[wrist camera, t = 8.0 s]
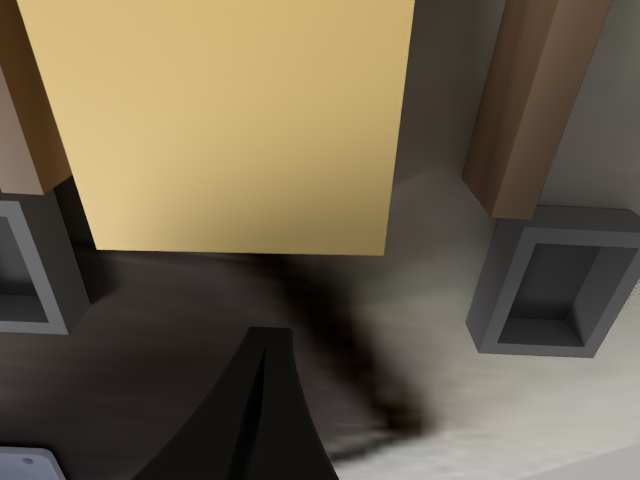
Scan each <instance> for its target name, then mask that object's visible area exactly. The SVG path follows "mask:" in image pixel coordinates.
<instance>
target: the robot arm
mask: <svg viewBox="0 0 640 480" xmlns="http://www.w3.org/2000/svg"><path fill="white" fill-rule="evenodd" d="M292 336H293V331H292V330H291V329H289V328H269V327H250V328H249V329H248V330H247V332H246V334H245V336H244V338H243V340H242V342H241V344H240V346H239V347H238V349H237V351H236V353H235V354H234V356H233V358H232V359H231V361H230V363H229V364H228V366H227V367H226V369H225V370H224V372H223V374H222V375H221V377H220V378H219V380H218V381H217V383H216V384H215V385H214V387H213V388H212V389H211V391H210V392H209V394H208V395H207V396H206V398H205V399H204V400H203V402H202V403H201V404H200V406H199V407H198V408H197V410H196V411H195V412H194V413H193V415H192V416H191V417H190V418H189V419H188V421H187V422H186V423H185V424H184V425H183V426H182V428H181V429H180V430H179V431H178V432H177V433H176V434H175V435H174V437H173V438H172V439H171V440H170V441H169V442H168V443H167V444H166V445H165V446H164V447H163V448H162V450H161V451H160V452H159V453H158V454H157V455H156V456H155V457H154V458H153V459H152V460H151V461H150V462H149V463H148V464H147V465H146V466H145V467H143V468H142V469H141V470H140V471H139V472H138V473H137V474H136V475H135V476H134V477H133V478H132V479H131V480H339V478H338V476H337V474H336V472H335V470H334V468H333V466H332V464H331V462H330V460H329V458H328V456H327V454H326V452H325V450H324V448H323V445H322V443H321V441H320V439H319V436H318V434H317V431H316V429H315V426H314V424H313V421H312V419H311V416H310V413H309V410H308V407H307V404H306V401H305V398H304V395H303V392H302V389H301V385H300V381H299V377H298V373H297V369H296V365H295V359H294V353H293V345H292ZM0 480H66V479H65V477H64V475H63V473H62V471H61V469H60V467H59V465H58V463H57V461H56V459H55V457H54V455H53V454H52V452H51V451H49V450H47V449H43V448H25V447H0Z"/></svg>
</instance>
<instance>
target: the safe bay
mask: <svg viewBox="0 0 640 480" xmlns="http://www.w3.org/2000/svg"><path fill="white" fill-rule="evenodd" d="M611 2H612V0H507V2H506V6H505V10H504V14H503V18H502V22H501V26H500V30H499V34H498V38H497V42H496V46H495V50H494V54H493V58H492V62H491V65H490V69H489V73H488V77H487V81H486V85H485V89H484V93H483V97H482V101H481V105H480V109H479V113H478V117H477V121H476V125H475V129H474V133H473V137H472V141H471V145H470V149H469V153H468V157H467V161H466V165H465V168H464V172H463V176H462V179H463V180H464V182H465V183H466V184H467V186H468V187H469V189H470V190H471V191H472V193H473V194H474V195H475V197H476V198H477V199H478V201H479V202H480V203H481V205H482V206H483V207H484V209H485V210H486V211H487V213H488V214H489V215H490V217H491V218H508V219H527V220H531V219H532V216H533V213H534V210H535V208H536V205H537V202H538V200H539V197H540V194H541V191H542V189H543V186H544V183H545V181H546V178H547V175H548V173H549V170H550V167H551V164H552V162H553V159H554V156H555V154H556V151H557V148H558V146H559V143H560V140H561V137H562V135H563V132H564V129H565V127H566V124H567V121H568V118H569V116H570V113H571V110H572V108H573V105H574V102H575V100H576V97H577V94H578V91H579V89H580V86H581V83H582V81H583V78H584V75H585V72H586V70H587V67H588V64H589V62H590V59H591V56H592V54H593V51H594V48H595V45H596V43H597V40H598V37H599V35H600V32H601V29H602V26H603V24H604V21H605V18H606V16H607V13H608V10H609V8H610V5H611ZM71 175H73V174H72V171H71V167H70V164H69V161H68V158H67V155H66V152H65V149H64V146H63V143H62V139H61V136H60V133H59V130H58V127H57V124H56V121H55V118H54V115H53V111H52V108H51V105H50V102H49V99H48V96H47V93H46V90H45V87H44V84H43V80H42V77H41V74H40V71H39V68H38V65H37V62H36V59H35V56H34V52H33V49H32V46H31V43H30V40H29V37H28V34H27V31H26V28H25V24H24V21H23V18H22V15H21V12H20V9H19V6H18V3H17V0H0V188H1V191H2V193H16V194H36V195H44V194H46V193H47V192H49V191H50V190H51V189H53V188H54V187H56V186H57V185H58V184H60V183H61V182H63V181H64V180H66V179H67V178H68V177H70V176H71Z"/></svg>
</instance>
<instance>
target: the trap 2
mask: <svg viewBox="0 0 640 480" xmlns="http://www.w3.org/2000/svg"><path fill="white" fill-rule="evenodd" d="M639 278H640V216H638V215H637V214H635V213H634V212H633V211H631V210H624V209H604V208H585V207H565V206H546V205H536V208H535V210H534V213H533V216H532V219H531V220H527V219H508V218H499V221H498V224H497V227H496V230H495V233H494V236H493V239H492V242H491V245H490V248H489V252H488V255H487V258H486V261H485V264H484V267H483V270H482V273H481V276H480V280H479V283H478V286H477V289H476V292H475V295H474V298H473V301H472V304H471V307H470V311H469V314H468V317H467V320H466V325H467V327H468V330H469V332H470V334H471V337H472V339H473V341H474V344H475V346H476V348H477V351H478V353H489V354H511V355H533V356H556V357H578V358H593V357H594V356H595V354H596V352H597V350H598V349H599V347H600V345H601V343H602V342H603V340H604V338H605V337H606V335H607V333H608V331H609V330H610V328H611V326H612V324H613V323H614V321H615V319H616V318H617V316H618V314H619V312H620V311H621V309H622V307H623V305H624V304H625V302H626V300H627V299H628V297H629V295H630V293H631V292H632V290H633V288H634V286H635V285H636V283H637V281H638V280H639Z"/></svg>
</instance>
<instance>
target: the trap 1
mask: <svg viewBox="0 0 640 480" xmlns="http://www.w3.org/2000/svg"><path fill="white" fill-rule="evenodd" d="M90 306H91V305H90V302H89V299H88V295H87V292H86V289H85V286H84V283H83V280H82V277H81V274H80V270H79V267H78V264H77V261H76V258H75V255H74V252H73V248H72V245H71V242H70V239H69V236H68V233H67V230H66V227H65V223H64V220H63V217H62V214H61V211H60V208H59V205H58V202H57V198H56V195H55V192H54V189H51V190H50V191H49V192H47V193H46V194H44V195H36V194H16V193H2V191H1V188H0V332H19V333H42V334H64V335H69V334H70V332H71V331H72V330H73V328H74V327H75V326H76V324H77V323H78V322H79V320H80V319H81V318H82V316H83V315H84V314H85V312H86V311H87V310H88V308H89V307H90Z"/></svg>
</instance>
